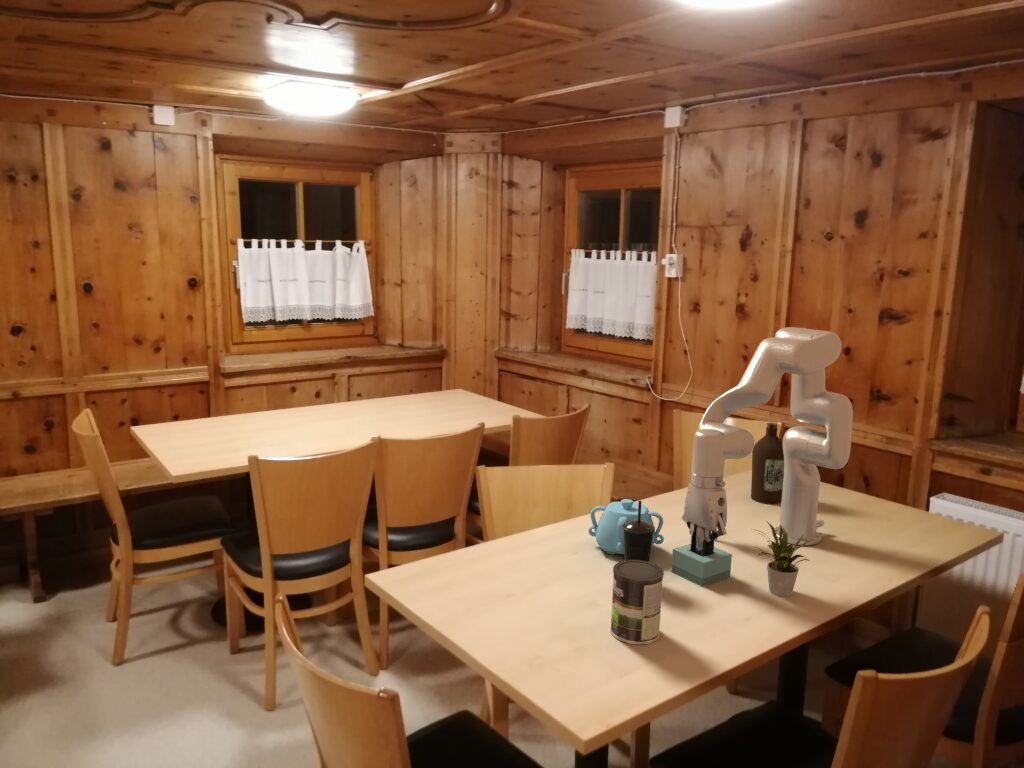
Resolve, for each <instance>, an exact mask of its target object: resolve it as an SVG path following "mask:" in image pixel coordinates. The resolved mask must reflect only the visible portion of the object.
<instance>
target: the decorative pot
mask: <svg viewBox="0 0 1024 768" xmlns="http://www.w3.org/2000/svg"><path fill="white" fill-rule="evenodd" d="M638 503H639V502H638ZM638 503H637V502H635V501H633V500H632V499H629V498H628V499H627V498H623V499H621V501H612V502H610V503H609V504H607V506H604V505H596V506H595V507H593V508H592V509H591V511H590V519H591V523H592V526H589V527H588V535H590V536H591V537H595V541H596V542H597V544H598V546H599V548H601V550H602V551H605V552H606V554H608V555H615V554H618V555H624V556H625V548H624V529H623V524H624V523H626V522H630V521H634V520H638ZM596 511H602V514H601V517H600V518H599V521H598V522H597V520H596V519H597V518H596V514H595V513H596ZM652 516H653V517H656V518H657V519H658V525H657V528H656V529H655V531H654V532H653V538H652V545H651V549H652V548H653V546H654V545H661V544H663V543H664V540H665V538H664V536H663V535H662V534H660V532H661V530H662V527H663V525H664V518H663V516H662V515H661V514H660V513H659V512H657V511H654V510H651V511H649V509H648V507H647V506H646V505H644V504H642V503H641V521H645V522H647V523H650V524H652V525H653V526H654V527H655V524H654V521H653V518H652ZM593 530H594V531H593ZM658 538H659V540H658Z"/></svg>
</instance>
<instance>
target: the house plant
mask: <svg viewBox="0 0 1024 768" xmlns="http://www.w3.org/2000/svg"><path fill="white" fill-rule="evenodd" d="M765 522H766V523H767V524H768V526H769V527H770V529H771V533H772V536H773V539H774V541H772V540H771V539H770V538H768V537H767V536H766V535H765V534H764V532H762V531H761V530H758V529H755V531H757V534H758V535H759V534H760V535H761V536H763V537H764V538H766V537H767V538H768V539H769V540H768V539H767V538H766V541H767V543H768V544H767V547H768V548H769V549H770V550H771V551H772V553H773V554H772V553H770V552H767V551H763V550H762V548H760V547H756V546H754V549H755V548H756V549H759V550H760V551H761V552H759V553H758V554H757V556H756V557H760V556H762V555H763V556H764V555H770V556H771V557H773V560H770V561H769V562H767V564H766V568H767V569H766V571H767V579H768V590H769V593H771V594H772V595H774V596H778V597H790V596H792V594H793V592H794V588H795V585H796V581H797V577H798V573H799V567H798V566H797V565H796V564H798V563H800V562H803V561H809V562H810V560H809V559H807V557H806V556H804V555H803V554H796V552H797V551H798V549H800V548H801V549H802V547H804V546H806V545H805V544H806V543H808V542H810V541H815V540H810V541H807V542H806V543H804V544H802V545H798V543H799V542H800V541H801V539H802V537H803V536H804V535H803V536H802V537H801V538H800V539H799V540H798V542H797V543H796V544H790V543H788V537H787V535H788V533H786V531H785V529H784V528H782V526H781V524H780V523H779V525H780V532H779V539H777V535H776V532H775V529H774V526H773V525H772V524H771V523H770V522H769V521H766V520H765ZM751 530H753V529H751ZM789 531H790V530H789ZM759 532H760V533H759ZM761 533H762V534H761ZM764 535H765V536H764ZM782 536H783V538H782ZM794 554H795V555H794ZM798 558H802V559H800V560H798V561H796V560H797V559H798ZM794 561H796V562H795V563H793V562H794Z"/></svg>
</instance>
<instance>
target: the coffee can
mask: <svg viewBox="0 0 1024 768" xmlns="http://www.w3.org/2000/svg"><path fill="white" fill-rule="evenodd" d="M612 570H613V579H612V580H613V581H612V582H613V583H612V600H611V601H612V602H611V616H610V617H611V622H610V634H611V635H612V637H614V638H615V639H616V640H618V641H620V642H623V643H626V644H629V645H637V646H639V645H643V646H644V645H649V644H650V645H651V644H653V643H654V642H656V641H657V640H658V639H659V638H660V625H661V611H662V610H661V608H662V596H663V595H662V594H663V579H664V576H665V575H664V573H665V572H664V569H663V568H662V567H661V566H659V565H658V564H655V563H653V562H650V561H649V562H647V561H642V560H625V559H624V560H622V561H619V562H616V563H615V564H614V565H613V567H612Z"/></svg>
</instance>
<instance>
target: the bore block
mask: <svg viewBox="0 0 1024 768" xmlns="http://www.w3.org/2000/svg"><path fill="white" fill-rule="evenodd" d="M671 556H672V557H671V573H674V574H675V575H677V576H680V577H681V578H683V579H685V580H688V581H690V582H692V583H693V584H696V585H698V586H700V587H706V586H708V585H712V584H714V583H717V582H720V581H723V580H726V579H729V578H731V571H732V557H733V556H732V553H730V552H727V551H725V550H723V549H720V548H718V547H716V546H714V551H713V554H711V555H707V556H704V557H702V556H700V555H697V554H695V551H691V543H689V544H684V545H682V546H678V547H674V548H672V554H671Z"/></svg>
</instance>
